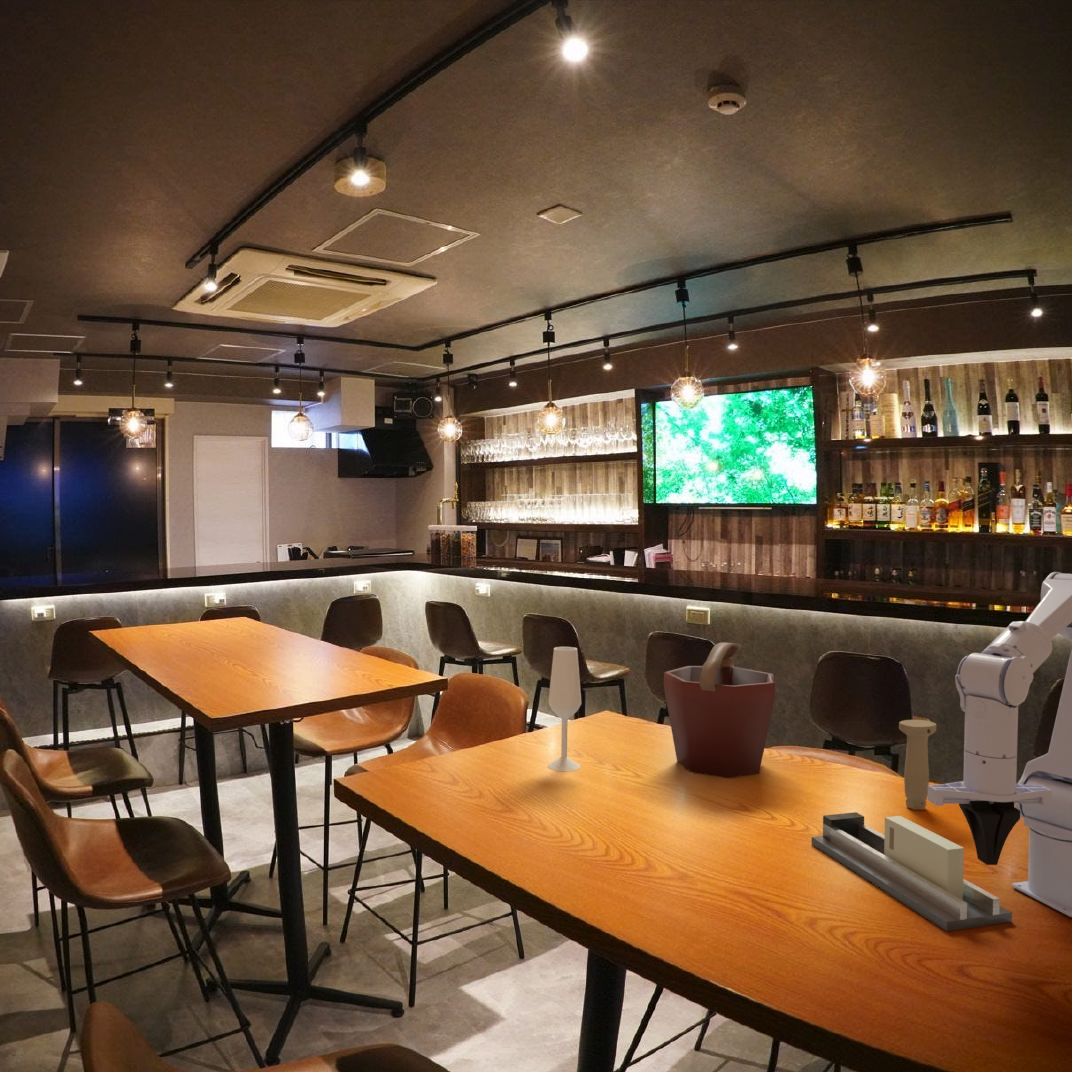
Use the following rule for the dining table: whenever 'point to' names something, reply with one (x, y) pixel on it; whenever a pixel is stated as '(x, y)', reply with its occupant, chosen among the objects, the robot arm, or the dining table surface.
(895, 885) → the rail
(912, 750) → the handle
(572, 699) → the champagne flute
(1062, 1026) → the dining table surface
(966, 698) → the robot arm
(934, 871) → the door panel
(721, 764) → the bucket
